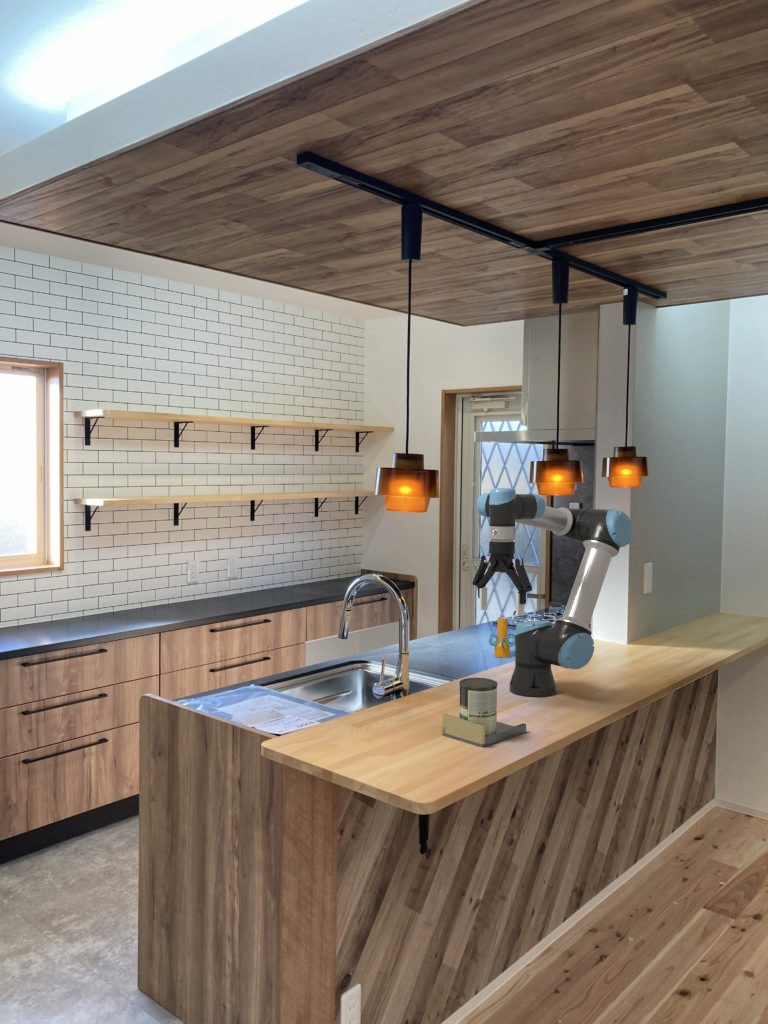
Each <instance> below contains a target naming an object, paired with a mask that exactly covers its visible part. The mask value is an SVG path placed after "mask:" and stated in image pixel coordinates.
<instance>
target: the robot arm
mask: <svg viewBox="0 0 768 1024" xmlns="http://www.w3.org/2000/svg"><path fill="white" fill-rule="evenodd" d="M476 509H477V512H478V514H480V515H481V516H482V517H487V518H489V528H488V529H489V533H488V534H489V539H490V541H489V542H488V553H489V554H490V555H488V554H485V555H481V556H480V563H479V565H478V567H477V570H476V573H475V575H474V577H473V581H472V583H471V584H472V585H473V586H475V587H476V588H477V597H478V599H479V611H485V610H488V587H487V584H488V583H489V582H490V580H491V579H492V578H493V576H494V575H495V574H496V573H502V574H506V575H508V577H509V579H510V580H511V582H512V583H513V585H514V586H515V589H516V590H517V591H518V592H516V598H515V599H516V601H515V604H516V605H515V607H516V608H515V610H516V611H515V616H516V617H519V616H524V615H525V605H526V603H527V593H528V592H532V590H533V587H532V584H531V581H530V579H529V576H528V574H527V570H526V568H525V565H524V563H525V562H524V558H522V557H519V558H515V556H514V555H515V554H516V542H515V541H514V540H515V539H516V523H517V524H522V525H527V526H531V527H534V528H538V529H542V530H547V531H551V532H552V533H553V534H554V535H555V536H558V537H562V538H566V539H568V540H572V541H575V542H578V543H581V544H583V547H584V548H585V550H584V553H583V556H582V559H581V562H580V565H579V568H578V571H577V573H576V577H575V580H574V582H573V586H572V588H571V591H570V595H569V596H568V600H567V603H566V606H565V608H564V611H563V614H562V616H561V617H559V618H556V619H555V623H554V625H553V624H552V621H550V620H531V621H522V622H519V623H518V624H517V625H515V634H514V635H515V645H514V651H515V652H514V656H515V657H514V658H515V660H514V662H515V664H514V665H515V666H514V669H513V672H512V675H511V678H510V682H509V692H511V693H512V694H515V695H519V696H524V697H533V698H534V697H536V698H537V697H539V698H540V697H542V698H543V697H549V696H554V695H555V694H556V693H557V684H556V681H555V678H554V674H553V671H552V665H553V666H557V667H560V668H563V669H569V670H570V669H571V670H580V669H582V668H583V667H584V668H585V666H586V665H588V663H589V662H590V661H591V659H592V657H593V656H594V651H595V646H594V644H595V642H594V641H595V640H594V639H593V637H592V636H591V635H592V630H591V628H590V622H591V620H592V616H593V615H594V612H595V611H594V610H595V609H596V606H597V602H598V599H599V596H600V594H601V591H602V587H603V585H604V582H605V578H606V576H607V572H608V569H609V567H610V565H611V561H612V559H613V558H614V557H617V556H618V555H619V553H620V550H621V549H620V548H625V547H627V546H628V545H629V544H630V543H631V540H632V539H633V538H632V537H633V533H634V531H633V525H632V522H631V518H630V517H629V515H628V514H627V513H626V512H625V511H622V510H617V509H616V510H615V509H614V508H613V509H611V508H610V509H601V508H567V507H563V506H562V507H559V508H557V507H552V506H548V505H546V501H545V499H544V497H542V496H541V495H540V494H537V493H536V494H535V493H528V494H527V493H516V489H515V488H513V487H494V488H491V489H490V492H484V493H482V494H480V495H479V497H478V498H477V503H476ZM489 564H490V565H489Z"/></svg>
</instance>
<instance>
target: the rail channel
mask: <svg viewBox="0 0 768 1024" xmlns="http://www.w3.org/2000/svg"><path fill="white" fill-rule="evenodd" d="M526 733H527V724H526V723H520V724H517V725H515V726H514V725H511V724H507V723H503V722H499V721H497V726H496V733H493V734H490V735H487V736H485V725H484V724H481V723H477V722H473V721H470V720H466V719H463V718H460V716H459V717H458V716H455V715H452V714H448V713H443V714H442V736H443V737H445V738H446V737H447V738H450V739H454V740H457V741H460V742H463V743H466V744H470V745H474V746H475V747H480V748H485V747H487V746H490V745H494V744H496V743H498V742H502V741H505V740H509V739H511V738H514V737H517V736H519V735H523V734H526Z"/></svg>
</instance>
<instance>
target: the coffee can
mask: <svg viewBox="0 0 768 1024" xmlns="http://www.w3.org/2000/svg"><path fill="white" fill-rule="evenodd" d="M458 683H459V718H463V719H466V720H470V721H473V722H477V723H481V724H484V725H485V736H487V735H490V734H493V733H496V726H497V722H498V719H497V718H498V717H497V715H498V713H497V712H498V711H497V709H498V708H497V705H498V699H497V698H498V682H497V681H496V680H493V678H486V677H485V678H484V677H468V678H467V677H466V678H463V679H461V680H459V682H458Z"/></svg>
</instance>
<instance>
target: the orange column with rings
mask: <svg viewBox="0 0 768 1024" xmlns="http://www.w3.org/2000/svg"><path fill="white" fill-rule="evenodd" d="M496 618H497V624H496V625H497V627H496V629H497V633H495V632H492V633H490V634H489V637H488V643H489V645H491V646H493V647H494V654H493V655H494V657H497V658H501V659H502V658H504V659H505V658H510V656H511V647H515V634H514V633H509V632H508V628H509V627H508V626H509V625H508V623H509V620H508V619H509V618H508V617H505V616H504V617H502V616H501V617H500V616H499V617H496ZM508 633H509V634H508ZM493 638H495V639H496V640H495V641H494V640H492V639H493ZM510 638H511V639H512V642H511V641H510Z"/></svg>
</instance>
